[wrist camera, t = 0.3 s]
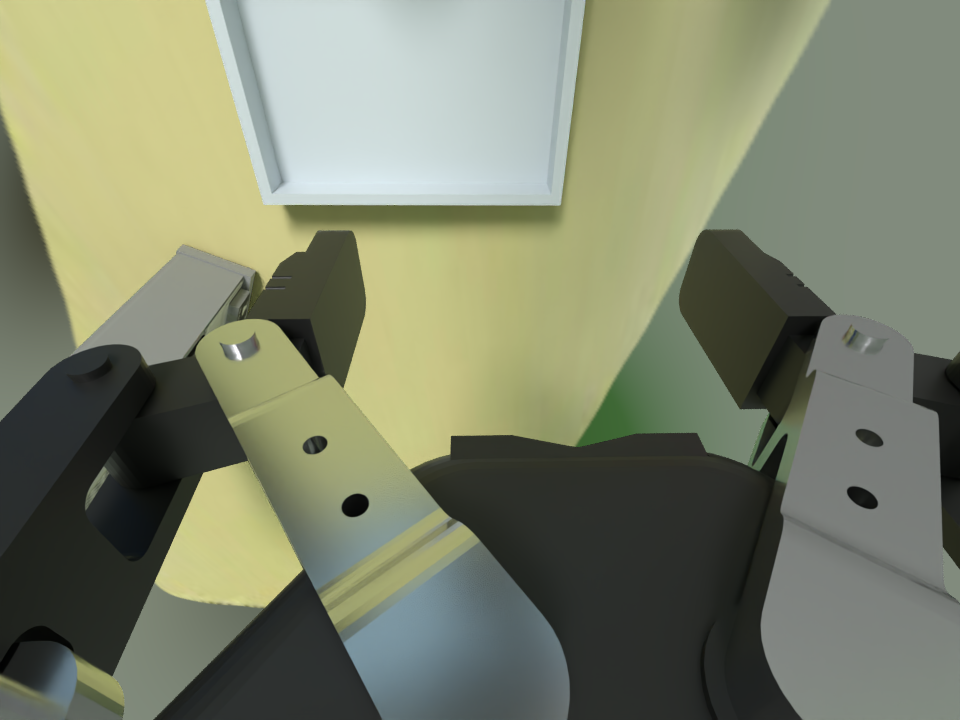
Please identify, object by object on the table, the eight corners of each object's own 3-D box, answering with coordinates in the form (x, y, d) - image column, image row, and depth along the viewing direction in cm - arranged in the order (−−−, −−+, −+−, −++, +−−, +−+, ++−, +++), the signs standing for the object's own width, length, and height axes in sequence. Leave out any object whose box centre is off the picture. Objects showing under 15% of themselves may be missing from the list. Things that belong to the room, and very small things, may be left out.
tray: (202, -91, 27) (177, -98, 24) (585, -85, 27) (596, -91, 25) (276, 190, 37) (263, 204, 34) (554, 191, 37) (560, 205, 35)
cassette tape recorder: (238, 377, 49) (89, 638, 30) (174, 358, 47) (-29, 622, 28) (259, 270, 41) (77, 528, 22) (184, 242, 39) (-87, 497, 20)
